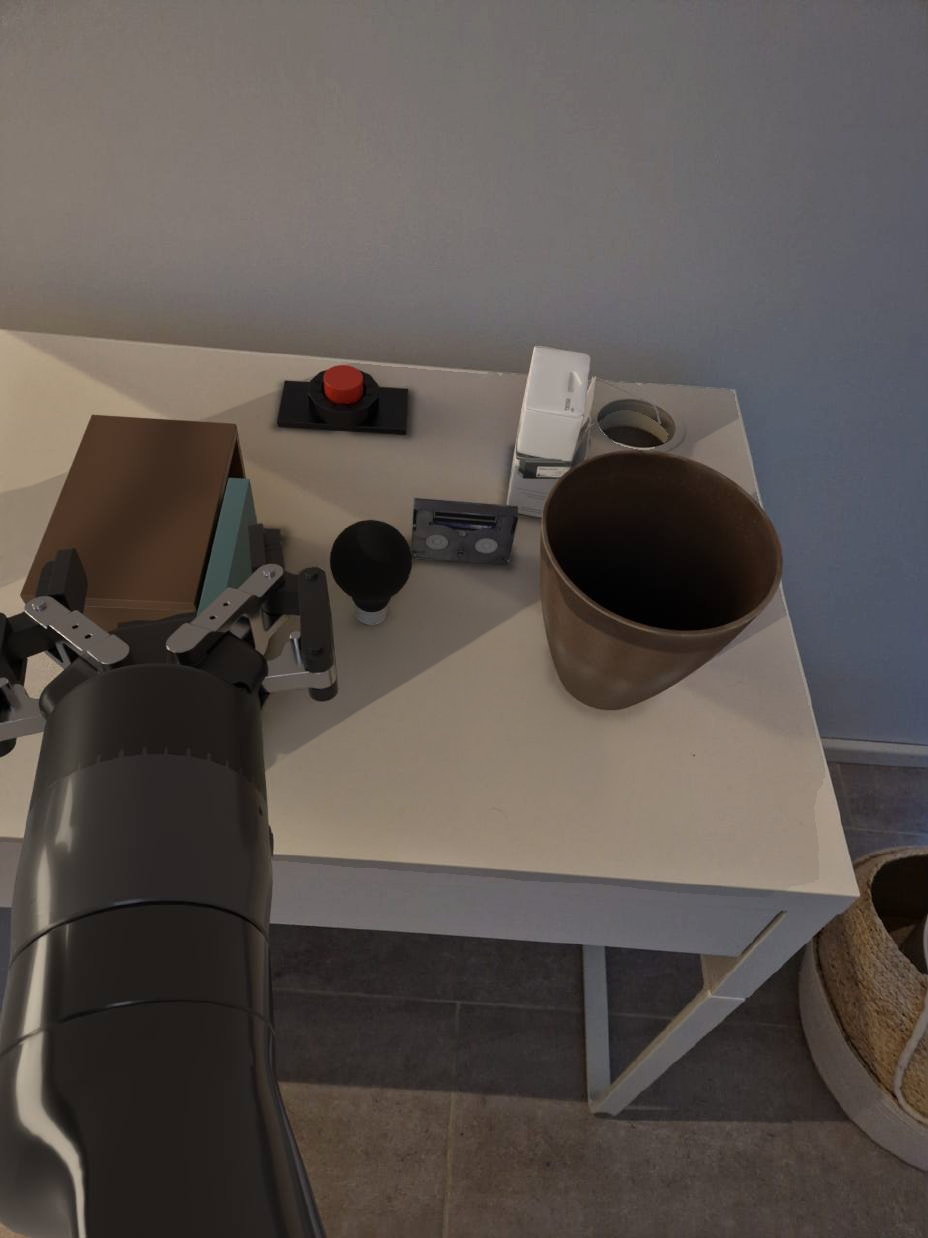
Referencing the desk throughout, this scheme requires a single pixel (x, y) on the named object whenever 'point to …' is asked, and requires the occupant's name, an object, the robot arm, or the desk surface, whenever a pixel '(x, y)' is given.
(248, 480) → the door
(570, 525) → the plant pot
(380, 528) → the light bulb
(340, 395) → the button
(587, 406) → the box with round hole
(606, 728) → the desk surface
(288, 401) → the button box
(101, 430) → the cabinet
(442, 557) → the mini dv tape
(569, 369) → the ink box
